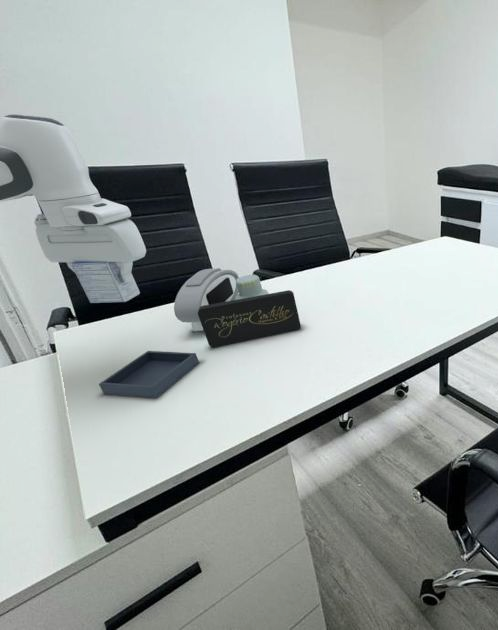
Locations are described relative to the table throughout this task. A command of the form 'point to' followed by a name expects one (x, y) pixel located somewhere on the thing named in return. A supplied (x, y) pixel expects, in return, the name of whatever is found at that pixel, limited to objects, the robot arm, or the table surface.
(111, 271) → the medicine box
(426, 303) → the table surface
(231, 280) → the alarm clock
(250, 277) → the air freshener
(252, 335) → the nameplate
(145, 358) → the tray
